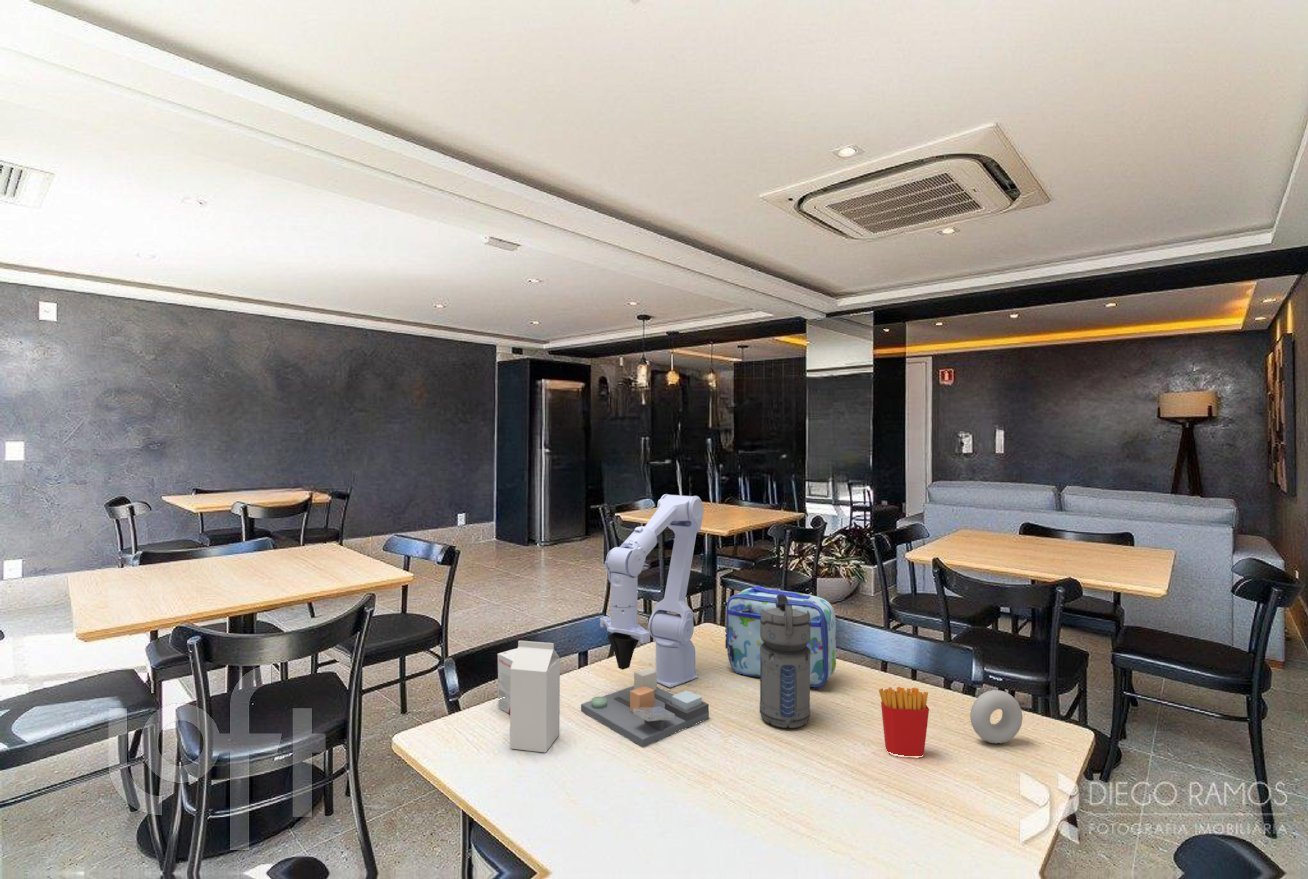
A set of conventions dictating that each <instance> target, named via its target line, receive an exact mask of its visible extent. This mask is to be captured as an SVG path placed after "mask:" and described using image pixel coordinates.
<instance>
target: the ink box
mask: <svg viewBox="0 0 1308 879" xmlns="http://www.w3.org/2000/svg"><path fill="white" fill-rule="evenodd" d="M517 648H518V647H517ZM517 648H513V649H509V650H506V651H503V652H499V653H497V688H498V689H497V690H498V691H497V696H498V697H497V699H500V698H502V699H500V700H497V702H498V709H500V710H502V711H503V712H505V713H507V714H509V715H510V678H511V669H510V668H511V665H512V663H513V660H514V657H515V654H516V651H517ZM503 697H505V698H503Z"/></svg>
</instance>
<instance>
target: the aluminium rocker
mask: <svg viewBox="0 0 1308 879" xmlns="http://www.w3.org/2000/svg"><path fill="white" fill-rule="evenodd" d="M633 714H635V715H637V716H639V717H641V718H643V719H645V720H646V721H657V720H671V719H674V716H675V714H674V713H672V712H670V711H668V710H666V709H664V708H662V707H660V706H659V707H641V708H634V710H633Z"/></svg>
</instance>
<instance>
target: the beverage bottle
mask: <svg viewBox="0 0 1308 879" xmlns="http://www.w3.org/2000/svg"><path fill="white" fill-rule="evenodd" d="M775 603H776V608H772V609H769V610H766V611H764V609H762V611H761V619H760V637H761V638H762V640H763V641H764V643H763V644H761V646H760V677H759V678H760V679H759V680H760V681H759V682H760V683H759V685H760V686H759V689H760V690H759V694H760V698H759V713H760V715H761V718H762V719H763V721H764V722H766V723H767V724H769V725H772V726H774V727H778V728H783V729H797V728H801V727H803V726H805V725H806V724H808V721H809V719H810V717H811V698H810V697H811V687H810V649H809V648H808V647H807V646H806V645H807V644H808V642H809V641H810V628H811V624H810V613H809V611H807V613H804V612H801V611H799V610H796V609H792V604H789V603H788V599H787V597H786V596H785V595H784V594H779V595H777V598H776V601H775ZM787 727H789V728H787Z"/></svg>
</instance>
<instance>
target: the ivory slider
mask: <svg viewBox="0 0 1308 879" xmlns="http://www.w3.org/2000/svg"><path fill="white" fill-rule="evenodd" d="M633 676H634V677H633V686H634V689H637V688H640V687H643V686H647V687H649V688H651V689H653V690H657V687H658V686H657V684H658V682H657V672H656V670H654V669H651V668H649V667H646V668H644V669H640V670H637V671H634V672H633Z"/></svg>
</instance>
